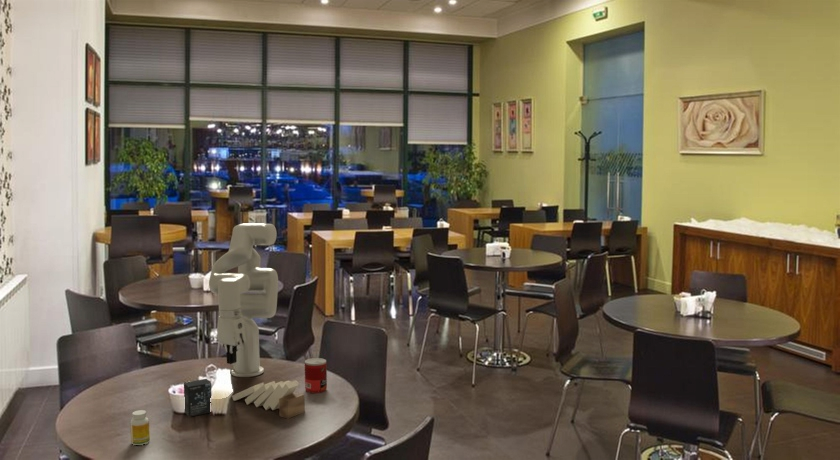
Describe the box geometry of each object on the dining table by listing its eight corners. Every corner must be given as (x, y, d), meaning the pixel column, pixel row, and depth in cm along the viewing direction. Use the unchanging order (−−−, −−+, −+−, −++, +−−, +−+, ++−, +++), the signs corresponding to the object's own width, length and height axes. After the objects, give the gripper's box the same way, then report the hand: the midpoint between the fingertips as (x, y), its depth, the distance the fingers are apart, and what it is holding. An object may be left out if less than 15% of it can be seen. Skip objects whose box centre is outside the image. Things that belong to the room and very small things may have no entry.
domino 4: (262, 405, 261) (278, 383, 256) (273, 401, 265) (289, 380, 260) (266, 410, 260) (282, 388, 255) (276, 405, 265) (292, 384, 259)
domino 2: (244, 399, 266) (263, 384, 260) (255, 395, 270) (274, 380, 264) (247, 404, 266) (266, 389, 259) (257, 400, 270) (276, 385, 263)
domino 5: (269, 405, 259) (285, 383, 254) (279, 401, 263) (296, 379, 258) (272, 410, 259) (289, 388, 253) (283, 406, 263) (299, 384, 257)
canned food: (325, 393, 278) (324, 363, 276) (303, 393, 278) (302, 363, 276) (328, 386, 285) (327, 357, 284) (307, 386, 285) (306, 357, 284)
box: (189, 417, 254) (188, 386, 252) (184, 412, 258) (183, 382, 257) (212, 412, 258) (211, 382, 257) (207, 407, 263) (206, 378, 261)
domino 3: (253, 402, 264) (271, 384, 258) (264, 398, 268) (282, 380, 262) (256, 407, 263) (274, 389, 257) (267, 403, 267) (285, 385, 261)
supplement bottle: (127, 442, 233) (126, 412, 231) (144, 437, 236) (143, 407, 235) (136, 447, 229) (135, 416, 228) (153, 442, 233) (151, 412, 232)
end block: (279, 416, 255) (279, 398, 254) (296, 409, 261) (295, 392, 261) (288, 418, 253) (287, 401, 252) (304, 411, 259) (304, 394, 258)
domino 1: (231, 395, 270) (252, 386, 263) (242, 391, 274) (263, 382, 267) (233, 401, 269) (254, 391, 263) (244, 397, 273) (265, 387, 267)
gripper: (252, 313, 269) (254, 363, 272) (223, 307, 277) (225, 356, 280) (237, 318, 263) (238, 369, 266) (207, 312, 271) (209, 361, 274)
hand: (231, 362), depth 273 cm, fingers closed
